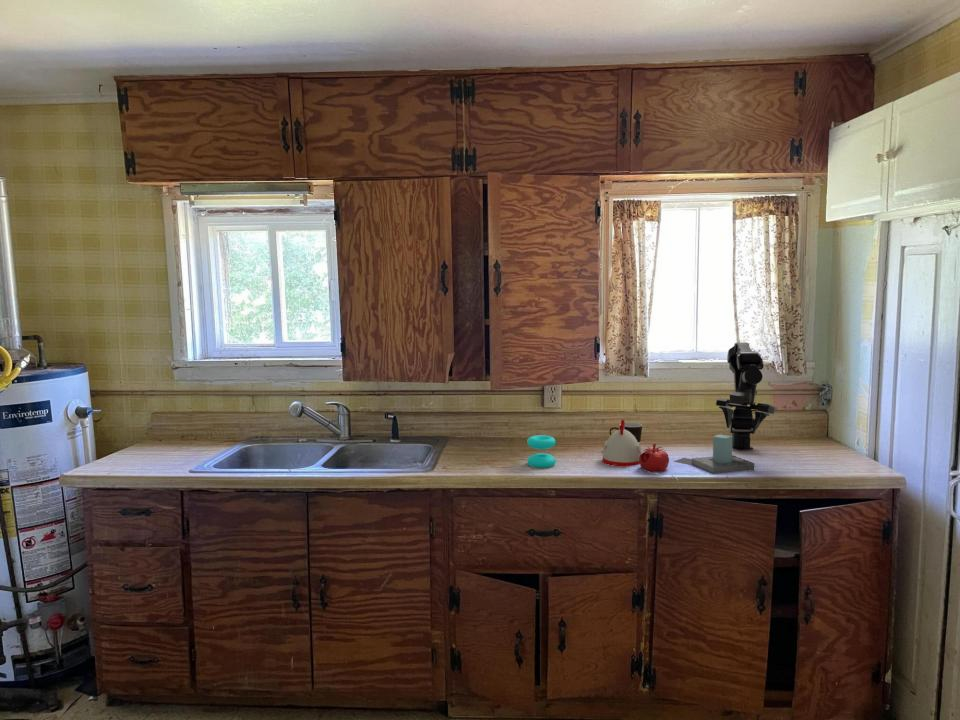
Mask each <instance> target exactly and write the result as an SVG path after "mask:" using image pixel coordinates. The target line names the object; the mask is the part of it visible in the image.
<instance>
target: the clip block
mask: <svg viewBox="0 0 960 720" xmlns="http://www.w3.org/2000/svg"><path fill="white" fill-rule="evenodd" d="M732 438H733V436H732V435H725V434H717V435H713V438H712V445H713V446H712V457H713V461H714V462H717V463H719V464H725V463H732V455H733V448H732Z"/></svg>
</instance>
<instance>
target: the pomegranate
mask: <svg viewBox="0 0 960 720" xmlns="http://www.w3.org/2000/svg"><path fill="white" fill-rule="evenodd" d="M656 446H657V443H653V444H652V448H651V447H650V446H647V448H645V449H644V450H643V451H642V454H641V455H640V456H639V461H640V464H639V465H640V467H641V468H642V470H644V471H645V472H650V473H655V472H659V473H661V472H662V473H663V472H665V470H666V469H667V468H668V466H669V463H670V458H669V457H670V456H669V454H668V453H667V452H666V451H667V450H665V449H664V448H663V447H662V446H658V447H656ZM660 448H661V449H660Z"/></svg>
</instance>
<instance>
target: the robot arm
mask: <svg viewBox="0 0 960 720" xmlns="http://www.w3.org/2000/svg"><path fill="white" fill-rule="evenodd" d="M727 351H728V352H727V357H726V361H727V362H726V363H727V364H728V366H729V367H728V368H729V370H730V371H731V372H732V373H733V381H734V382H733V383H734V385H733V386H734V392H731V393H729V399H728V398H722V397H719V398H717V399H716V401H715V406H718V408H719V409H720V410H721V411H722V412H723V415H724V420H725V425H726V428H728V432H729V433H730V434H732V435H731V436H733V438H732V449H734V450H738V451H745V450H753V449H754V447H753V446H751V434H752V435H754V434H755V433H756V431H757V430H758V428H759V427H760V425H761V423H763V421H764V420H765V419H766V418H767V417H770V415H775V407H774V406H773V405H772V404H768V403H762V402H761V403H759V402H758V403H757V404H756V402H755V399H756V398H755V397H756V395H757V394H758V391H757V387H758V386H757V385H758V384H759V383H760V382H762V380H763V373H762V370H763V369H764V361H763V360H764V359H763V358H762V355H761V354H759V352H758V351H756V350H752V348H750V343H748V342H745V341H744V342H742V341H741V342H738V341H737V342H734V344H733V346H732V347H731V348H729V349H728V350H727ZM732 408H734V409H732ZM753 410H754V417H753Z"/></svg>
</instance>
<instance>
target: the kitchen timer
mask: <svg viewBox="0 0 960 720" xmlns="http://www.w3.org/2000/svg"><path fill="white" fill-rule="evenodd" d="M625 423H626V422H625V419H621V421H620V424H621V429H620V428H619V429H620V430H617V429H616V430H615V431H614V432H613V433H611V434H612V435H610V436H609V438H608V439H607V440H605V442H604V445H603V452H602V463H603V464H605V463H606V464H605V465H607V464H609V466H611V465H615V466H614V467H618V466H636V465H640V461H639V456H640V455H641V454H642V453H643V450H642V446H641V441H640V442H639V443H638V442H637V440H636V438H635V437H634V436H633V435H632V434H631V433H630V432H629V431H627V430H625Z"/></svg>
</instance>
